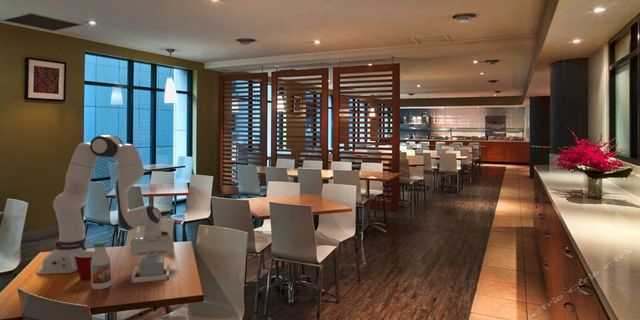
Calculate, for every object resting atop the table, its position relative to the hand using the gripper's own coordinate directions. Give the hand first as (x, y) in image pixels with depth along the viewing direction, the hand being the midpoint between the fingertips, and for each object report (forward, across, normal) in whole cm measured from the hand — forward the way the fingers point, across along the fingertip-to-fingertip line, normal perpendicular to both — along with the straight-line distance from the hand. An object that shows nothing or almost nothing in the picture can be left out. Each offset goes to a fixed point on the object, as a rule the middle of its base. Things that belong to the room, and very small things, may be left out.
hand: (152, 261), depth 219 cm
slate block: (+9, 0, -2) cm, 9 cm away
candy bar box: (-30, -43, +36) cm, 64 cm away
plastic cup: (+6, -28, +1) cm, 29 cm away
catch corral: (+8, 0, -2) cm, 8 cm away
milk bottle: (+16, -20, -9) cm, 27 cm away
